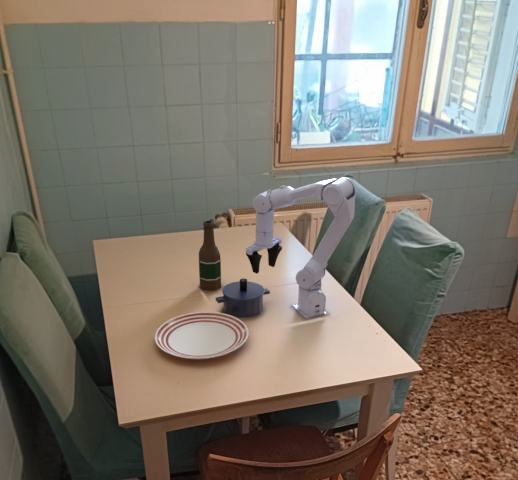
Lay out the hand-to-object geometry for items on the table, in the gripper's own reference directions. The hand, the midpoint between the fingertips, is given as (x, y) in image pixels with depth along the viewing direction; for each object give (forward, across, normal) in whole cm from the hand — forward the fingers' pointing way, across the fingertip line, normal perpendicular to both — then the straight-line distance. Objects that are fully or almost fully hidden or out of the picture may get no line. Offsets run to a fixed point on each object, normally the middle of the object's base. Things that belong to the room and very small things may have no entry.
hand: (263, 269), depth 188 cm
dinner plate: (+11, +34, +8) cm, 37 cm away
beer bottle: (+11, +8, -18) cm, 22 cm away
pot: (+10, +12, +2) cm, 16 cm away
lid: (+4, +11, +2) cm, 12 cm away
